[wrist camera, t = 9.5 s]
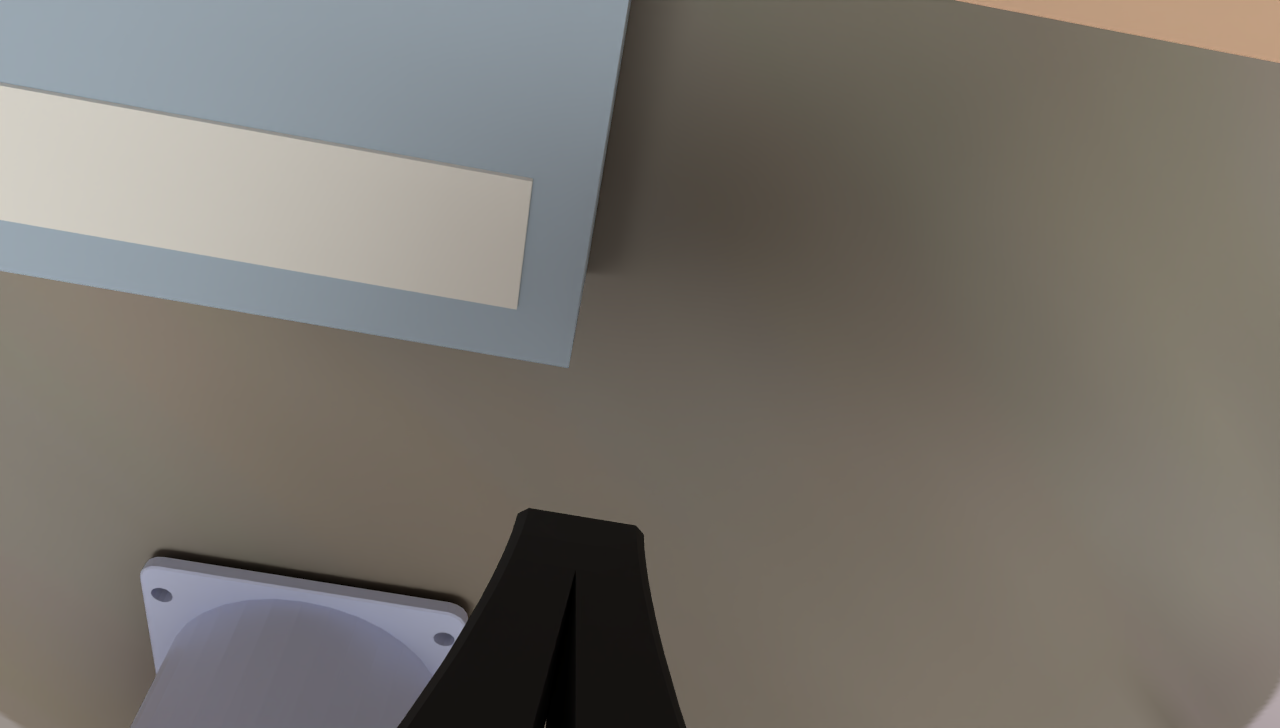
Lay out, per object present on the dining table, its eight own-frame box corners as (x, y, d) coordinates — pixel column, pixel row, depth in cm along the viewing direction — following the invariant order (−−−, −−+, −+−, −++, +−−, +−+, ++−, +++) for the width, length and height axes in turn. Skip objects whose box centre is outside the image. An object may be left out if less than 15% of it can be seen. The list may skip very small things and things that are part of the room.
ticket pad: (585, 275, 21) (566, 375, 19) (-97, 155, 20) (-213, 241, 18) (647, -99, 17) (633, -35, 14) (-209, -266, 16) (-383, -231, 14)
